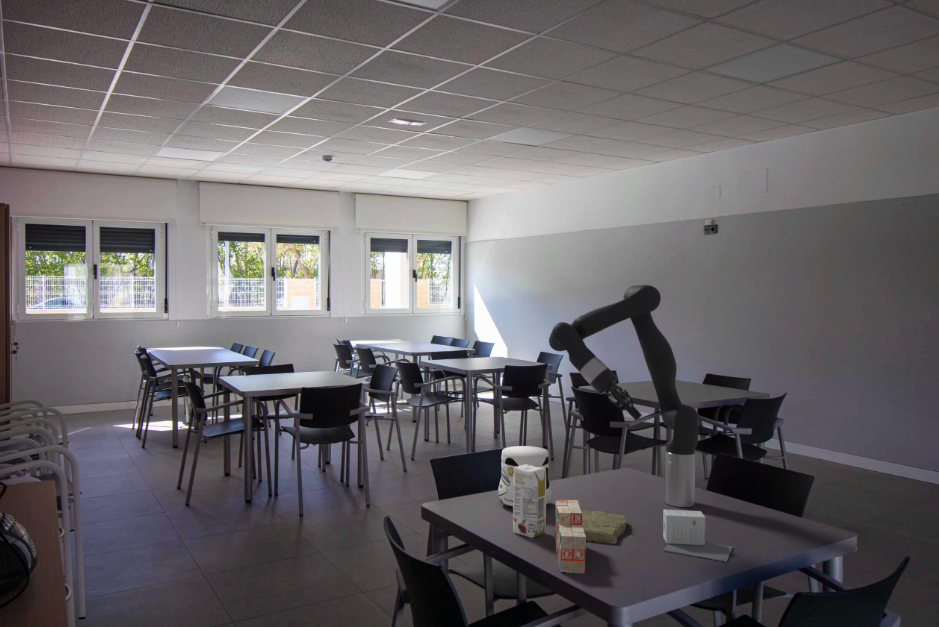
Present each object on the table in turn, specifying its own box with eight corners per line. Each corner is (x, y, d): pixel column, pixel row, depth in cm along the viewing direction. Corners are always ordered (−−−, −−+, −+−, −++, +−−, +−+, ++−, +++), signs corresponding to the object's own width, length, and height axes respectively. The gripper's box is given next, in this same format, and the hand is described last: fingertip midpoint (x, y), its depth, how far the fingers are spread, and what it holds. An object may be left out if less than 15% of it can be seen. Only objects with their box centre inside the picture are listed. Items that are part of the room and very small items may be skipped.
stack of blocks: (585, 574, 164) (586, 524, 164) (559, 573, 165) (560, 523, 165) (577, 543, 186) (577, 499, 186) (554, 542, 186) (555, 498, 186)
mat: (672, 537, 191) (672, 536, 191) (732, 547, 183) (732, 546, 183) (663, 551, 180) (663, 549, 180) (726, 562, 173) (726, 561, 173)
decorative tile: (553, 538, 191) (553, 526, 191) (567, 517, 209) (567, 506, 209) (620, 547, 184) (620, 534, 184) (628, 525, 203) (629, 513, 203)
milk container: (487, 504, 221) (487, 450, 221) (523, 495, 233) (524, 443, 232) (526, 517, 208) (526, 459, 208) (562, 506, 220) (562, 451, 220)
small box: (662, 536, 190) (700, 539, 189) (665, 543, 185) (705, 546, 184) (663, 508, 190) (701, 510, 189) (666, 514, 185) (706, 517, 183)
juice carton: (533, 540, 188) (533, 472, 188) (509, 532, 194) (509, 467, 193) (549, 533, 193) (549, 467, 193) (525, 526, 199) (526, 462, 199)
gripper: (600, 369, 198) (642, 413, 192) (613, 364, 209) (653, 406, 204) (583, 386, 200) (624, 430, 195) (596, 381, 212) (636, 422, 206)
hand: (639, 418), depth 199 cm, fingers closed
